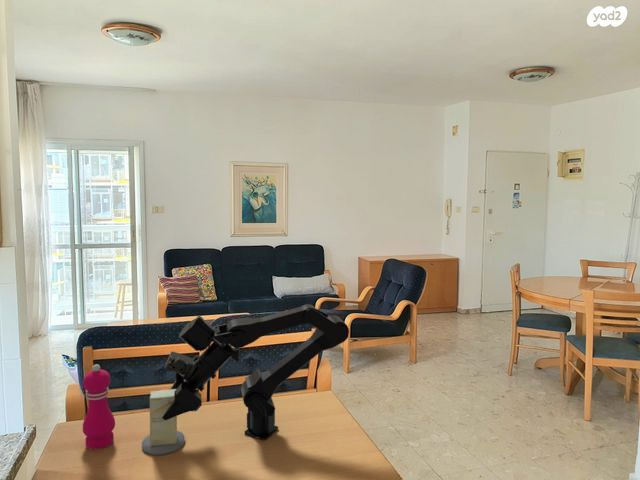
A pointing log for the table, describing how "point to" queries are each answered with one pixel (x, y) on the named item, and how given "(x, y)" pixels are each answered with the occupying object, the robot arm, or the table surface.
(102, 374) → the pepper mill
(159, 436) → the skincare box
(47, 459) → the table surface
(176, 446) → the charcoal coaster
